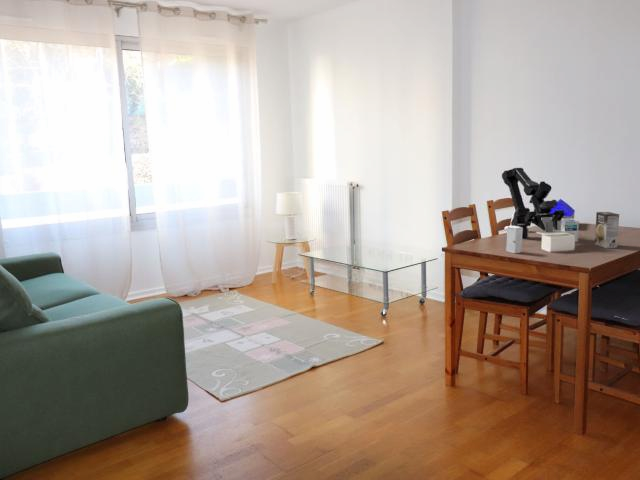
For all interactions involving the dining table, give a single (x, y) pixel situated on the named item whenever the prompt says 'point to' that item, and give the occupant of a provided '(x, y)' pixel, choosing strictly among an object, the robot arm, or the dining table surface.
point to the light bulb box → (570, 227)
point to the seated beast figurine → (511, 220)
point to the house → (567, 209)
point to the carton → (558, 243)
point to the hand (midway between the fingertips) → (550, 229)
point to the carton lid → (551, 230)
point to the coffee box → (606, 229)
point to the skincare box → (514, 239)
